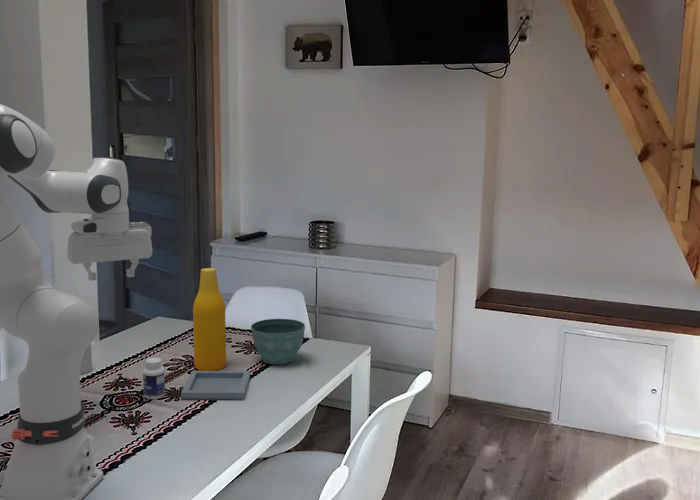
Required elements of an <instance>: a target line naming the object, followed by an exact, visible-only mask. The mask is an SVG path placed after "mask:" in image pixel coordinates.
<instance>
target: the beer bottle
mask: <svg viewBox="0 0 700 500" xmlns="http://www.w3.org/2000/svg"><path fill="white" fill-rule="evenodd" d="M218 283H219V282H218V277H217V270H216V268H215V267H214V268H213V267H205V268H201V269H200V277H199V288H198V292H197V295H196V297H195V299H194V301H193V305H192V314H193V315H192V316H193V318H192V320H193V324H192V325H193V363H194V367H195V368H196V370H197V371H221V370H222V369H224V368H225V366H226V365H227V350H226V349H227V348H226V347H227V346H226V345H227V343H226V342H227V340H226V339H227V338H226V337H227V335H226V334H227V333H226V306H225V301H224V298H223V296H222V295H221V293H220V290H219V284H218Z"/></svg>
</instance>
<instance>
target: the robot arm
mask: <svg viewBox="0 0 700 500" xmlns="http://www.w3.org/2000/svg"><path fill="white" fill-rule="evenodd" d="M55 155H56V147H55V142H54V140H53V139H52V137H51V135H49V134H48V132H47V131H45V130H44V128H43V127H41V126H40V125H38V124H37V123H36V122H34V121H32V119H30V117H28V116H26V115H23V113H20V112H19V111H17V110H14V109H13V108H11V107H9V106H7V105H4V104H1V103H0V179H2V178H4V177H6V176H7V177H8V178H9V179H11V181H13V182H14V183H16V184H17V185H18V186H19V187H21V188H22V189H23V190H25V192H27V193H28V194H29V195H30V196H31V197H32V199H33V200H34V202H35V203H36V205H37V206H38V207H39V208H40V209H41V210H42V211H43V212H45V213H49V214H50V213H51V214H54V213H57V214H61V213H67V214H83V215H84V214H86V215H87V214H88V216H87V217H84V218H81V219H78V220H75V221H73V222H71V224H70V228H71V230H72V231H73V232H72V233H70V235H69V236H68V240H67V249H66V250H67V252H66V253H67V254H66V255H67V256H66V257H67V260H68V261H69V262H70V263H71V264H74V265H78V264H79V265H81V264H82V265H83V268H84V270H85V271H86V272H87V275H88V276H87V277H88V281H90V282H93V281H97V273H96V272H93V271H92V269H91V268H92V263H103V262H115V261H116V262H117V261H127V260H130V263H131V265H130V267H129V268H128V269H127V268H126V270H125V271H126V274H125V276H126V277H128V278H133V277H135V271H136V268H137V266H138V265H139V263H140V262H139V260H140V259H149V258H151V257H152V255H153V244H152V238H151V237H152V235H153V233H152V232H153V231H152V226H151V225H150V224H149V223H148V222H146V221H130V212H129V211H130V210H129V206H128V197H129V178H128V171H127V166H126V164H125V162H124V161H123V160H122V159H119V158H116V157H108V156H96V157H93V158H92V161H91V166H90V167H89V168H88V169H86V170H85V171H83V172H82V171H66V170H65V171H64V170H62V171H60V170H54V169H50V168H51V166H52V165H53V162H54V160H55V157H56V156H55ZM89 215H90V216H89ZM42 262H43V254H42V251H41V250H40V248H39V246H38V244H37V243H36V242H35V240H34V238H33V237H32V236H31V233H30V231H29V230H28V229H27V227H26V226H25V224H24V222H23V221H22V219H21V217H20V215H18V213H17V211H16V209H14V208H13V206H12V205H11V203H10V201H8V199H7V198H6V197H5V195H3V193H2V192H1V191H0V327H2V328H3V329H4V331H6V332H7V333H8V334H9V335H11V336H13V337H15V338H18V339H20V340H23V341H25V342H26V343H27V346H28V356H27V361H26V365H25V368H23V370H22V371H20V374H19V375H18V378H17V384H18V385H17V386H18V397H19V398H18V399H19V400H18V402H19V414H18V419H17V422H16V428H13V430H12V433H11V439H12V440H13V441H14V440H15V443H14V447H13V449H12V452H11V454H10V457H9V461H8V464H7V467H6V469H5V472H4V476H3V482H2V484H1V485H0V500H82V499H83V498H85V496H86V495H88V494H89V493H90V491H91V490H92V489H93V488H94V487H95V486H96V485H97V484H98V483H100V481H101V480H102V479H103V478H104V472H103V471H102V470H101V469H99V468H97V464H96V457H95V449H94V441H93V438H92V437H91V435H90V434H89V433H88V432H87V431H86V429H85V412H84V406H83V405H82V404H81V403H82V402H81V401H82V400H81V378H80V377H81V375H80V368H81V362H82V358H83V354H84V351H85V349H86V348H87V347H88V346H89V345H90V344H91V345H92V343H93V341H94V340H95V338H96V337H97V334H98V331H99V325H100V323H99V321H100V320H99V317H98V314H97V312H96V311H95V309H94V308H93V307H92V306H91V305H89V304H88V303H87V302H86V301H85V300H83V299H82V298H80V296H77V295H74V294H71V293H67V292H65V291H61V290H58V289H57V288H55V287H54V286H53V285H51V283H49V281H48V280H47V278H46V276H45V273H44V269H43V266H42Z"/></svg>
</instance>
